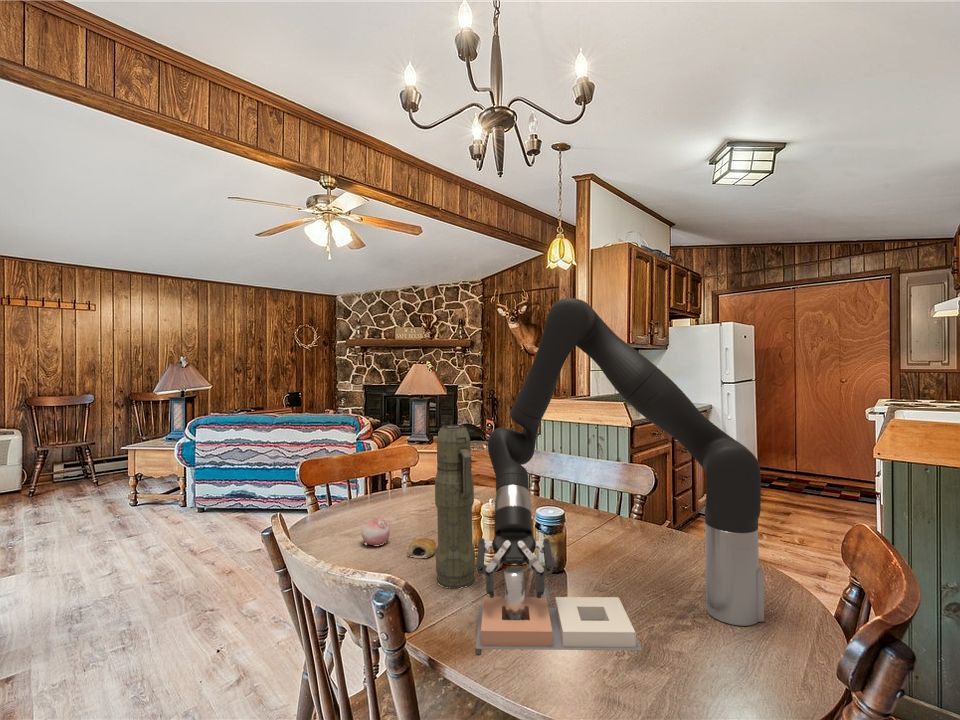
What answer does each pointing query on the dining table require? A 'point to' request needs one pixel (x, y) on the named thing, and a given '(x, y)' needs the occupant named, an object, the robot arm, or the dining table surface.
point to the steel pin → (514, 594)
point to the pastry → (422, 548)
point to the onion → (376, 531)
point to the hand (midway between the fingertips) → (515, 596)
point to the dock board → (557, 625)
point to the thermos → (454, 508)
